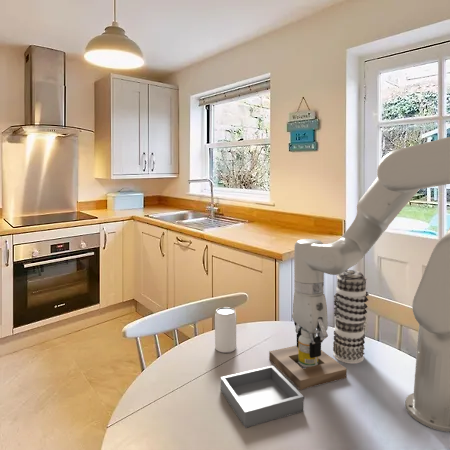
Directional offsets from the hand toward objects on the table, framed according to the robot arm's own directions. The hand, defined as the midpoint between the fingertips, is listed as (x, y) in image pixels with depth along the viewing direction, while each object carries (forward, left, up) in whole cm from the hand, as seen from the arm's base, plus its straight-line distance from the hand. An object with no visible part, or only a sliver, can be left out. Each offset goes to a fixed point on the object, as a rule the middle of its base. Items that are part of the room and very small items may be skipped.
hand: (308, 350), depth 101 cm
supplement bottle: (0, 0, -4) cm, 4 cm away
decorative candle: (+1, -15, -5) cm, 16 cm away
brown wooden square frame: (0, 0, -5) cm, 5 cm away
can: (+19, +16, -5) cm, 26 cm away
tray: (-8, +18, -5) cm, 20 cm away
